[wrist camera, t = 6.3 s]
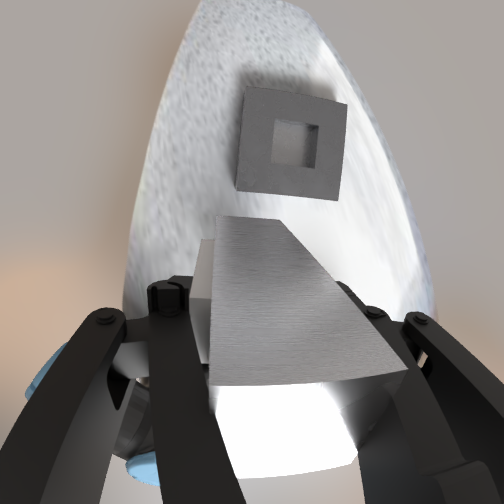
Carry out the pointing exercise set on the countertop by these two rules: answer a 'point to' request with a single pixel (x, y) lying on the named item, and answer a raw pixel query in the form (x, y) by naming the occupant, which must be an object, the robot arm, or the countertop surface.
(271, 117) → the socket block
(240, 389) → the peg
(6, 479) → the robot arm
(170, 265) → the countertop surface
